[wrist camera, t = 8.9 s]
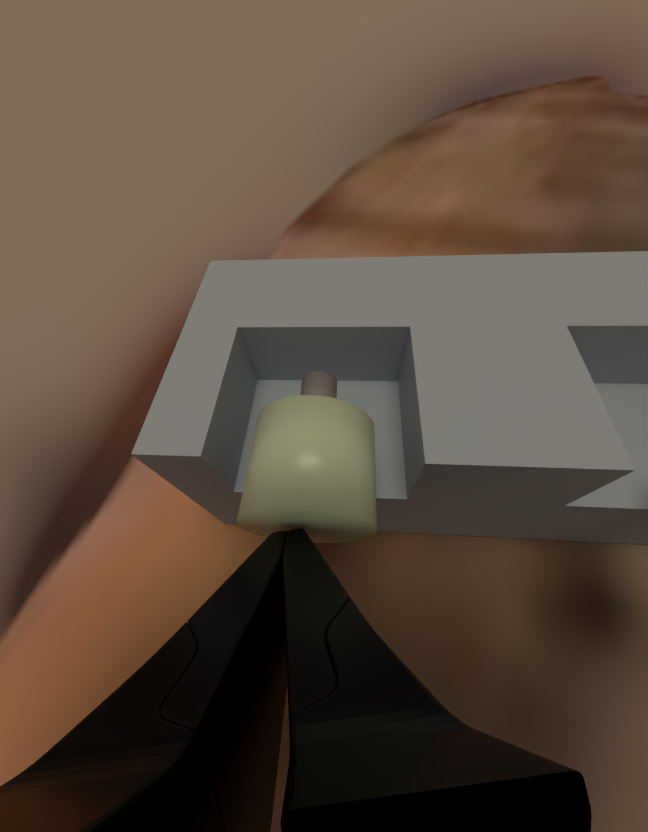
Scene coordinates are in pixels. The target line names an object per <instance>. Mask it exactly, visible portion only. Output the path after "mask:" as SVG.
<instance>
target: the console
mask: <svg viewBox="0 0 648 832" xmlns="http://www.w3.org/2000/svg"><path fill="white" fill-rule="evenodd" d="M314 371H322V372H327V373H329V374H331V375H333V376H334V377H335V378H336V380H337V399H340V400H343V401H346V402H349V403H351V404H353V405H355V406H357V407H359V408H360V409H362V410H363V411H365V412H366V413H367V414H368V415H369V416H370V417H371V419H372V421H373V422H374V426H375V467H376V509H377V531H383V532H403V533H423V534H443V535H463V536H483V537H503V538H523V539H543V540H563V541H583V542H603V543H623V544H643V545H648V251H635V252H590V253H545V254H500V255H455V256H410V257H365V258H320V259H275V260H231V261H211V262H210V264H209V267H208V269H207V272H206V274H205V276H204V279H203V281H202V284H201V286H200V289H199V291H198V293H197V296H196V298H195V301H194V303H193V306H192V308H191V311H190V313H189V315H188V318H187V320H186V323H185V325H184V327H183V330H182V332H181V335H180V337H179V340H178V342H177V344H176V347H175V350H174V352H173V354H172V357H171V359H170V361H169V364H168V366H167V369H166V371H165V374H164V376H163V379H162V381H161V383H160V386H159V388H158V391H157V393H156V395H155V398H154V400H153V403H152V405H151V408H150V410H149V412H148V415H147V417H146V420H145V422H144V425H143V427H142V429H141V432H140V434H139V437H138V439H137V442H136V444H135V446H134V449H133V451H132V455H133V456H134V457H136V458H137V459H138V460H140V461H141V462H142V463H144V464H145V465H146V466H148V467H149V468H151V469H152V470H153V471H155V472H156V473H157V474H159V475H160V476H161V477H163V478H164V479H165V480H167V481H168V482H169V483H171V484H172V485H173V486H175V487H176V488H177V489H179V490H180V491H181V492H183V493H184V494H186V495H187V496H188V497H190V498H191V499H192V500H194V501H195V502H196V503H198V504H199V505H200V506H202V507H203V508H204V509H206V510H207V511H208V512H210V513H211V514H212V515H214V516H215V517H217V518H218V519H219V520H221V521H222V522H223V523H225V524H237V517H238V512H239V507H240V502H241V497H242V492H243V487H244V482H245V477H246V472H247V467H248V462H249V457H250V452H251V447H252V442H253V437H254V432H255V427H256V422H257V417H258V414H259V412H260V411H261V410H262V409H263V408H264V407H265V406H266V405H268V404H270V403H271V402H274V401H276V400H279V399H282V398H286V397H291V396H299V395H300V393H301V385H302V379H303V377H304V376H305V375H306V374H307V373H310V372H314Z"/></svg>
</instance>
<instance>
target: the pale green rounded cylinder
mask: <svg viewBox="0 0 648 832" xmlns="http://www.w3.org/2000/svg"><path fill="white" fill-rule="evenodd" d="M237 524H238V525H239V526H240V527H242V528H243V529H245V530H247V531H250V532H253V533H256V534H259V535H263V536H267V537H269V536H270V535H271V534H272V533H273V532H277V531H284V530H287V531H289V530H291V529H299V528H303V529H304V530H305V531H306V533H307V534H308V536H309V537H310V539H311V540H312V542H313V543H346V542H356V541H362V540H366V539H369V538H371V537H374V536H375V535H376V534H377V509H376V467H375V426H374V422H373V421H372V419H371V417H370V416H369V415H368V414H367V413H366V412H365V411H363V410H362V409H360V408H359V407H357V406H355V405H353V404H351V403H349V402H346V401H343V400H340V399H337V380H336V378H335V377H334V376H333V375H331V374H329V373H327V372H322V371H314V372H310V373H307V374H306V375H305V376H304V377H303V379H302V385H301V393H300V395H299V396H291V397H286V398H282V399H279V400H276V401H274V402H271V403H270V404H268V405H266V406H265V407H264V408H263V409H262V410H261V411H260V412H259V414H258V417H257V422H256V427H255V432H254V437H253V442H252V447H251V452H250V457H249V462H248V467H247V472H246V477H245V482H244V487H243V492H242V497H241V502H240V507H239V512H238V517H237Z"/></svg>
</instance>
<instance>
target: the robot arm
mask: <svg viewBox="0 0 648 832" xmlns="http://www.w3.org/2000/svg"><path fill="white" fill-rule="evenodd" d="M287 683H288V707H289V720H290V722H289V729H290V760H289V768H288V775H287V782H286V789H285V796H284V803H283V810H282V817H281V831H282V832H591V807H590V803H589V798H588V794H587V790H586V786H585V782H584V778H583V776H582V774H581V773H580V772H578V771H575V770H573V769H571V768H568V767H566V766H563V765H561V764H558V763H556V762H553V761H551V760H549V759H546V758H544V757H541V756H539V755H536V754H534V753H531V752H529V751H527V750H524V749H522V748H519V747H517V746H514V745H512V744H509V743H507V742H505V741H502V740H500V739H497V738H495V737H492V736H490V735H487V734H485V733H483V732H480V731H478V730H475V729H473V728H471V727H469V726H468V725H466V724H465V723H463V722H461V721H460V720H459V719H458V718H456V717H455V716H454V715H452V714H451V713H450V712H449V711H448V710H447V709H446V708H445V707H443V705H442V704H441V703H440V702H439V701H438V700H437V699H436V698H435V697H434V696H433V695H432V694H431V693H430V692H429V691H428V690H427V688H426V687H425V686H424V685H423V684H422V683H421V682H420V681H419V680H418V679H417V678H416V676H415V675H414V674H413V673H412V672H411V671H410V670H409V669H408V668H407V667H406V666H405V665H404V663H403V662H402V661H401V660H400V659H399V658H398V657H397V656H396V655H395V654H394V653H393V651H392V650H391V649H390V648H389V647H388V646H387V645H386V644H385V642H384V641H383V640H382V639H381V638H380V637H379V636H378V634H377V633H376V632H375V631H374V630H373V629H372V627H371V626H370V625H369V623H368V622H367V620H366V619H365V618H364V616H363V615H362V614H361V612H360V611H359V609H358V608H357V606H356V605H355V603H354V602H353V601H352V600H351V598H350V596H349V595H348V593H347V592H346V590H345V589H344V587H343V586H342V585H341V583H340V582H339V580H338V579H337V577H336V576H335V574H334V573H333V571H332V570H331V568H330V567H329V565H328V564H327V562H326V561H325V559H324V558H323V556H322V555H321V553H320V552H319V550H318V549H317V547H316V546H315V544H314V543H313V542H312V540H311V539H310V537H309V536H308V534H307V533H306V531H305V530H304V529H303V528H299V529H291V530H289V531H287V530H284V531H277V532H273V533H272V534H271V535H270V536H269V537H268V538H267V539H266V540H265V541H264V542H263V543H262V544H261V545H260V546H259V547H258V548H257V549H256V550H255V551H254V552H253V553H252V554H251V555H250V556H249V557H248V558H247V559H246V561H245V562H244V563H243V564H242V565H241V566H240V567H239V568H238V569H237V570H236V571H235V572H234V573H233V574H232V575H231V576H230V577H229V578H228V579H227V580H226V581H225V582H224V583H223V584H222V585H221V587H220V588H219V589H218V590H217V591H216V592H215V593H214V594H213V595H212V596H211V597H210V598H209V599H208V600H207V601H206V602H205V603H204V604H203V605H202V606H201V607H200V608H199V609H198V610H197V611H196V613H195V614H194V615H193V616H192V617H191V618H190V619H189V620H188V623H185V624H184V625H183V626H182V627H181V628H180V629H179V630H178V631H177V632H176V633H175V634H174V635H173V636H172V637H171V638H170V639H169V640H168V641H167V642H166V643H165V644H164V645H163V646H162V647H161V648H160V649H159V650H158V651H157V652H156V653H155V654H154V655H153V656H152V657H151V658H150V659H149V660H148V661H147V662H146V663H145V664H144V665H143V666H142V667H140V668H139V669H138V670H137V671H136V672H135V673H134V674H133V675H132V676H131V677H130V678H129V679H128V680H126V681H125V682H124V683H123V684H122V685H121V686H120V687H119V688H118V689H117V690H115V691H114V692H113V693H112V694H111V695H110V696H109V697H108V698H107V699H105V700H104V701H103V702H102V703H101V704H100V705H99V706H98V707H97V708H96V709H94V710H93V711H92V712H91V713H90V714H89V715H88V716H87V717H86V718H84V719H83V720H82V721H81V722H80V723H79V724H78V725H77V726H76V727H74V728H73V729H72V730H71V731H70V732H69V733H68V734H67V735H66V736H64V737H63V738H62V739H61V740H60V741H59V742H58V743H57V744H56V745H54V746H53V747H52V748H51V749H50V750H49V751H48V752H47V753H45V754H44V755H43V756H42V757H41V758H39V759H38V760H37V761H36V762H35V763H34V764H32V765H31V766H30V767H28V768H27V769H26V770H24V771H23V772H22V773H20V774H19V775H17V776H16V777H14V778H13V779H11V780H10V781H8V782H7V783H5V784H3V785H2V786H0V832H270V830H271V821H272V812H273V804H274V795H275V786H276V777H277V768H278V760H279V751H280V742H281V733H282V725H283V716H284V707H285V698H286V690H287Z"/></svg>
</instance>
